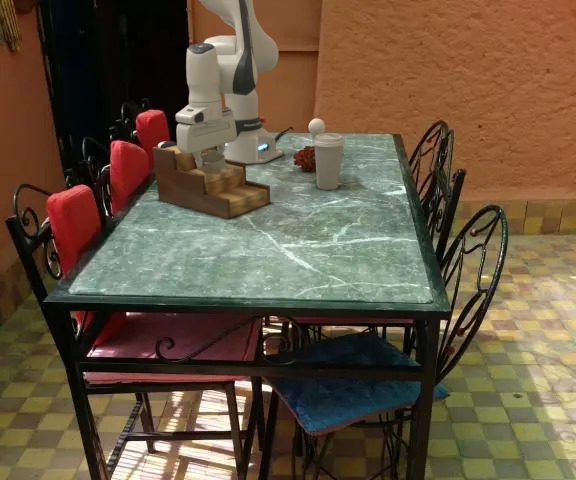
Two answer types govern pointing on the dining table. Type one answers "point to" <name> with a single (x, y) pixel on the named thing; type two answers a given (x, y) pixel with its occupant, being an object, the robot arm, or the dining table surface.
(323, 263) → the dining table surface
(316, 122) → the lightbulb
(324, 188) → the coffee cup
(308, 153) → the dragon fruit
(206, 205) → the step shelf
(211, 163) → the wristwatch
